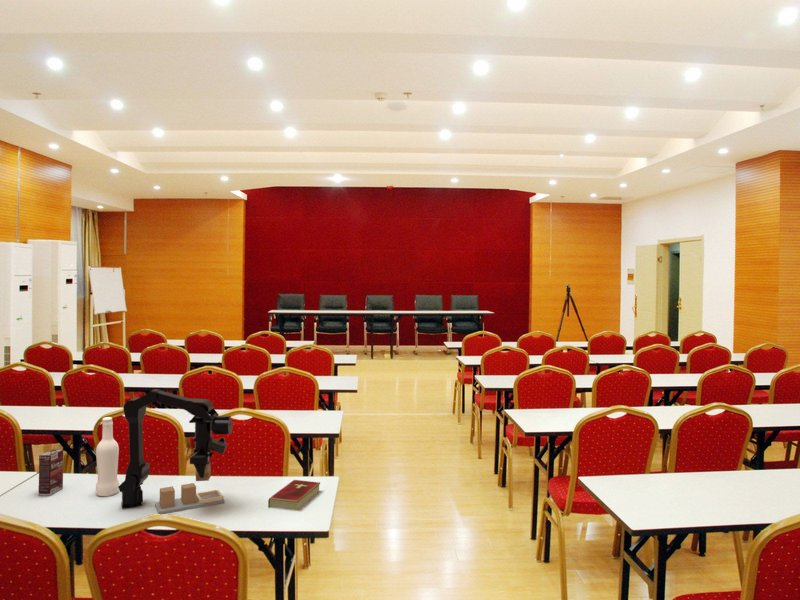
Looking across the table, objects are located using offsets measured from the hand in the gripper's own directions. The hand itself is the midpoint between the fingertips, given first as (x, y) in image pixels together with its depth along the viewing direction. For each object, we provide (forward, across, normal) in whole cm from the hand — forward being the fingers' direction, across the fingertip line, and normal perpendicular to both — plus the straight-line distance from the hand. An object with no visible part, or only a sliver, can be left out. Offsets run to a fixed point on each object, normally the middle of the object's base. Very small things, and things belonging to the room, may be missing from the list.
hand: (203, 475), depth 208 cm
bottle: (+11, +17, +39) cm, 44 cm away
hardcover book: (+12, +2, -34) cm, 36 cm away
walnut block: (+1, 0, 0) cm, 1 cm away
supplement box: (+11, +22, +61) cm, 66 cm away
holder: (+11, +2, +5) cm, 12 cm away
